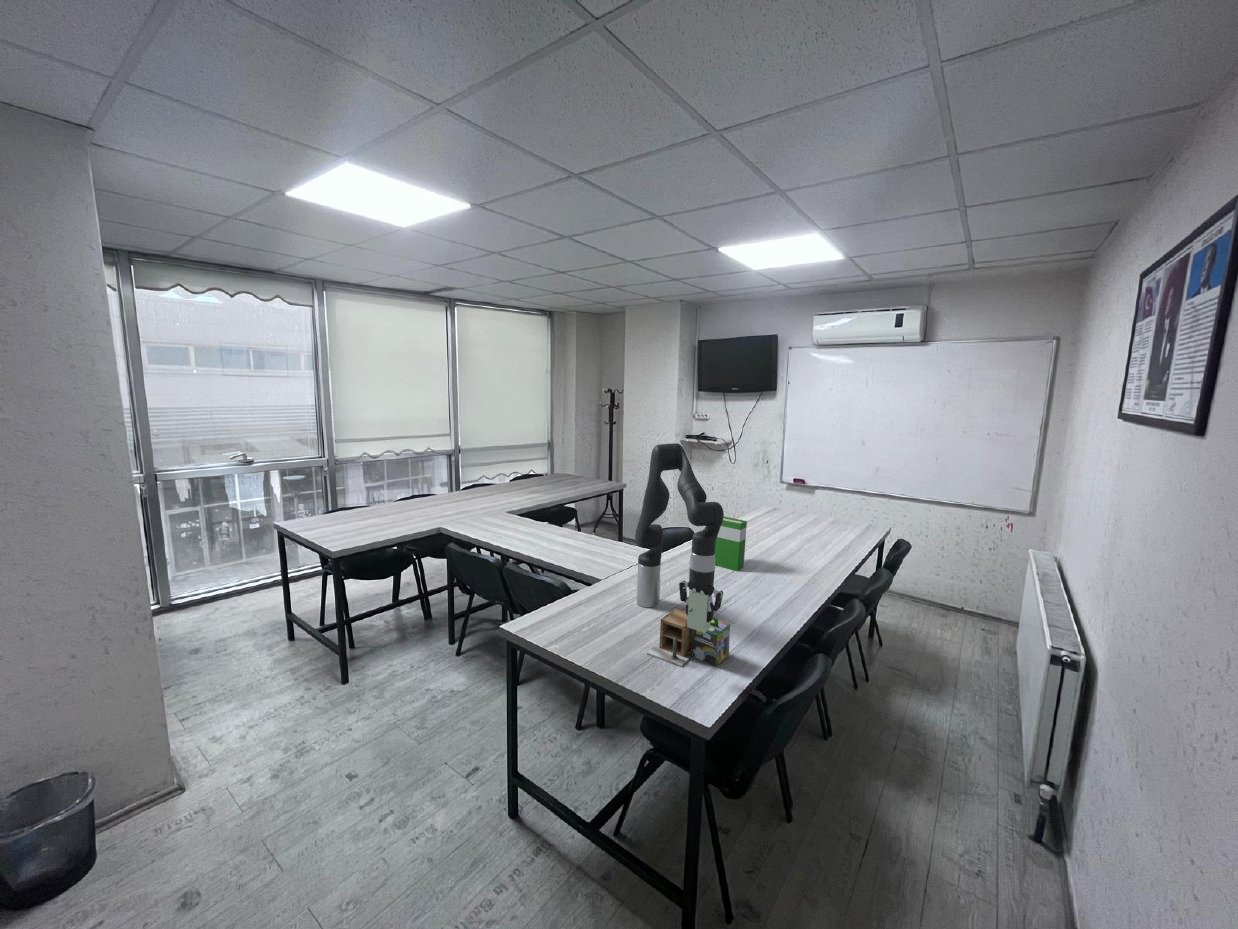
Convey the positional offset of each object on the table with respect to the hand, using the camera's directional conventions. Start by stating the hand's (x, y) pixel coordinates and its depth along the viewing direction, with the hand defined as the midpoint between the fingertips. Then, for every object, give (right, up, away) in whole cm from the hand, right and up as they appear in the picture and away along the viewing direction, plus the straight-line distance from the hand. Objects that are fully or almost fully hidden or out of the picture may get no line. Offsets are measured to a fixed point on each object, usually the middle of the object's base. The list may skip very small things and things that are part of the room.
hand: (699, 618), depth 152 cm
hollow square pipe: (0, -3, 0) cm, 3 cm away
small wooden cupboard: (-6, -16, +15) cm, 23 cm away
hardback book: (+29, -4, +98) cm, 102 cm away
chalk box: (+6, -17, +12) cm, 22 cm away
